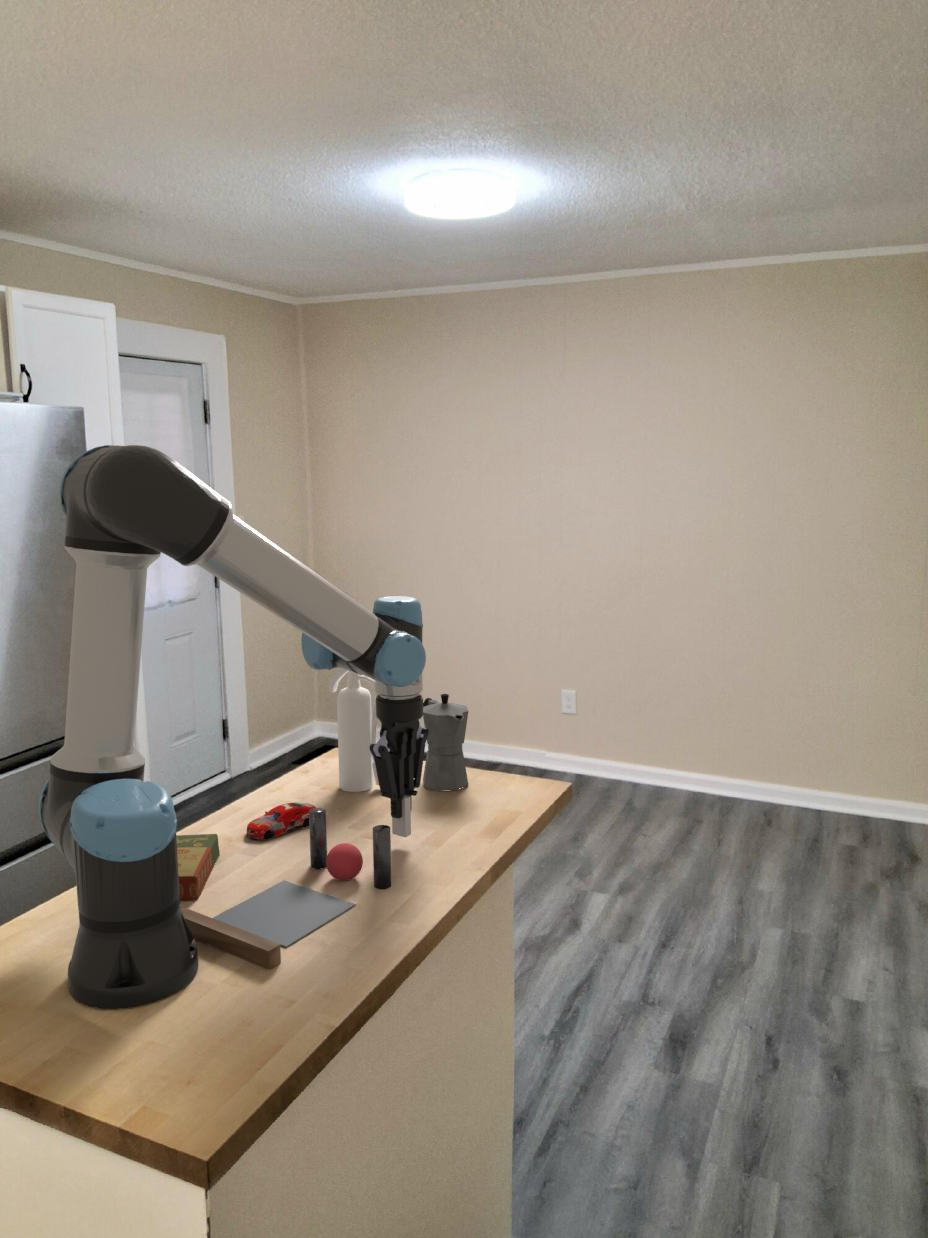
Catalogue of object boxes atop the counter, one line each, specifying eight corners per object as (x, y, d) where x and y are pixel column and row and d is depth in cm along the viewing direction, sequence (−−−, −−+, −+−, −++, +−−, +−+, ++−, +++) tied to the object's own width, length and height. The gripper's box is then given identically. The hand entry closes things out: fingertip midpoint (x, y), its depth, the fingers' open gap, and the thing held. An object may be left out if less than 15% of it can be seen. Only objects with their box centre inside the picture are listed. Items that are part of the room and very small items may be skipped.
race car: (256, 846, 156) (255, 823, 155) (240, 836, 159) (239, 814, 159) (323, 824, 164) (323, 802, 164) (306, 815, 168) (305, 794, 168)
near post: (384, 891, 138) (382, 833, 137) (370, 886, 140) (369, 829, 138) (395, 884, 140) (393, 827, 139) (381, 880, 142) (380, 823, 140)
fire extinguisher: (381, 796, 176) (375, 664, 173) (324, 790, 181) (318, 662, 177) (396, 785, 183) (391, 658, 179) (341, 780, 187) (335, 655, 184)
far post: (319, 870, 145) (318, 815, 144) (307, 867, 147) (305, 812, 145) (331, 864, 147) (329, 810, 146) (318, 861, 149) (316, 806, 147)
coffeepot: (483, 789, 180) (483, 698, 177) (439, 798, 176) (438, 704, 173) (445, 767, 193) (445, 681, 190) (404, 774, 189) (402, 687, 186)
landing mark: (286, 948, 122) (286, 946, 122) (212, 919, 130) (212, 918, 130) (355, 905, 134) (355, 904, 134) (284, 881, 142) (284, 880, 141)
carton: (140, 905, 135) (138, 877, 135) (167, 858, 151) (166, 833, 150) (199, 903, 136) (197, 875, 135) (220, 856, 152) (218, 831, 151)
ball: (341, 880, 137) (354, 843, 139) (313, 871, 140) (326, 835, 142) (362, 888, 142) (374, 852, 143) (334, 879, 145) (347, 844, 146)
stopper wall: (269, 969, 117) (268, 951, 117) (173, 930, 127) (172, 913, 127) (280, 962, 119) (280, 944, 118) (185, 924, 129) (184, 907, 128)
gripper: (392, 706, 142) (395, 853, 146) (442, 688, 153) (443, 826, 157) (354, 699, 146) (358, 842, 150) (405, 682, 157) (407, 816, 161)
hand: (401, 834), depth 154 cm, fingers closed
